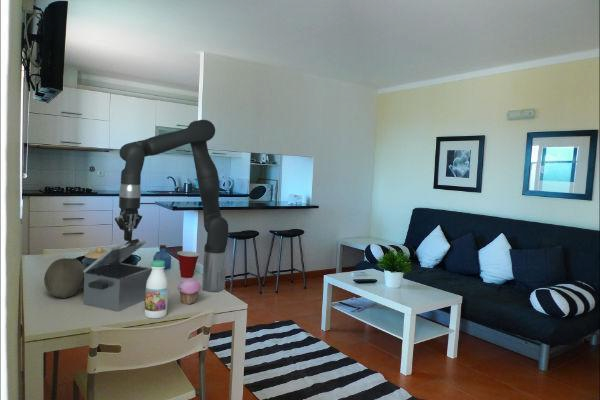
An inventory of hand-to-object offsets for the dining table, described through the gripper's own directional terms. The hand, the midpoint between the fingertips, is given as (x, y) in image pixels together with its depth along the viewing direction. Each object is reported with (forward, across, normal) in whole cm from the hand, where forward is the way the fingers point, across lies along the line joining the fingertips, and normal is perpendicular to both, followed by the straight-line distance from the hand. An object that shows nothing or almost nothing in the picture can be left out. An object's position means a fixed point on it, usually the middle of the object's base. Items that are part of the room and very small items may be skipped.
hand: (127, 240), depth 159 cm
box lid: (+6, 0, +4) cm, 7 cm away
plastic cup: (+24, +43, 0) cm, 49 cm away
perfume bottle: (+25, +49, +18) cm, 58 cm away
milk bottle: (+24, -6, -19) cm, 31 cm away
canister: (+25, +9, +21) cm, 34 cm away
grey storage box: (+24, -1, +3) cm, 25 cm away
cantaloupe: (+25, -6, +23) cm, 35 cm away
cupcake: (+24, +11, -22) cm, 34 cm away
